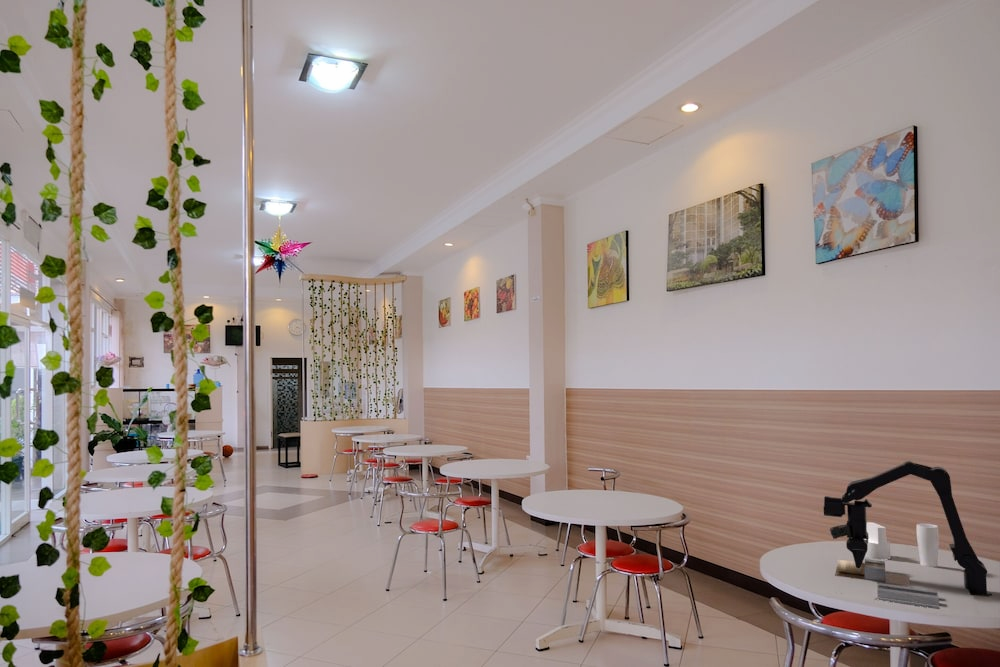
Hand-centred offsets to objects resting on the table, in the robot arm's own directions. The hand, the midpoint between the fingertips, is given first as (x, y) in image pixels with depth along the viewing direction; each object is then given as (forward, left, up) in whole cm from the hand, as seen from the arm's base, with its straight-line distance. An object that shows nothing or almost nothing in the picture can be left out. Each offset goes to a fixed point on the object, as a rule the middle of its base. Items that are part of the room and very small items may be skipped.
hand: (858, 564), depth 229 cm
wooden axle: (0, -1, -3) cm, 3 cm away
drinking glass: (+13, -30, -4) cm, 33 cm away
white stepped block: (+26, -18, -4) cm, 32 cm away
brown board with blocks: (-2, -4, -4) cm, 6 cm away
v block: (-23, -4, -4) cm, 24 cm away
